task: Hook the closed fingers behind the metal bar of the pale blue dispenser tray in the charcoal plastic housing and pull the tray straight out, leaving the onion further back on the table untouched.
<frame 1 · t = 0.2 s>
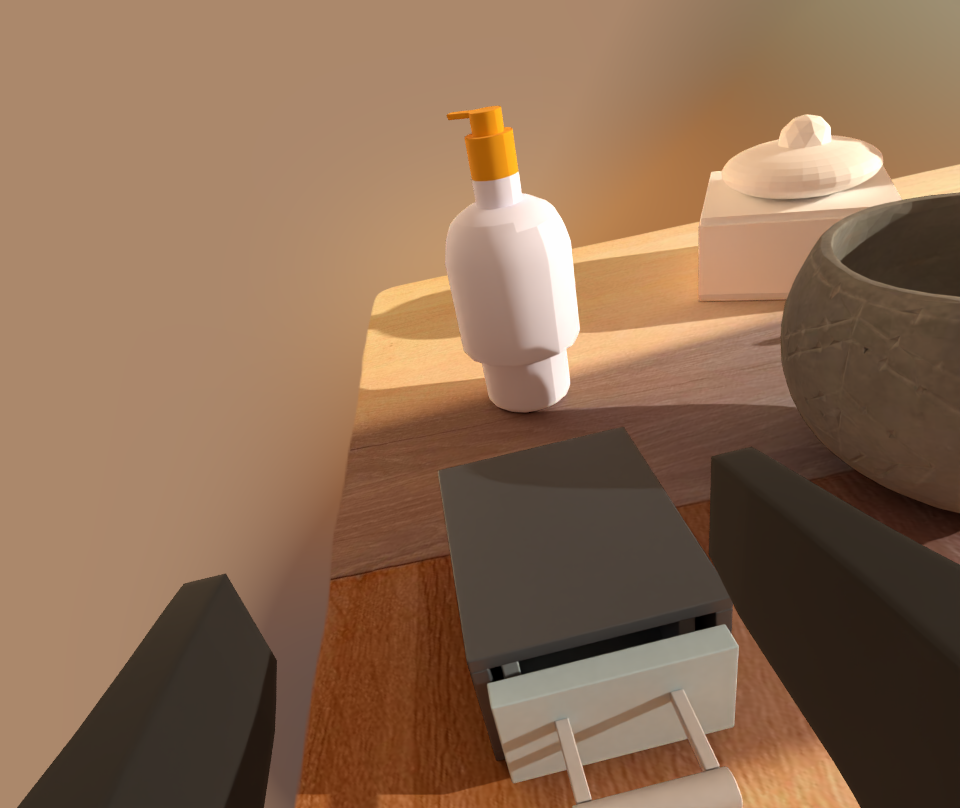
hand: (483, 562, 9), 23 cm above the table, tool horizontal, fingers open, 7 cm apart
soap bottle: (529, 394, 58), on the table
bowl: (944, 459, 42), on the table
dispenser: (574, 620, 36), on the table
dispenser tray: (593, 643, 30), point 4 cm above the table, slide at 0.5 cm
butter dish: (786, 267, 71), on the table
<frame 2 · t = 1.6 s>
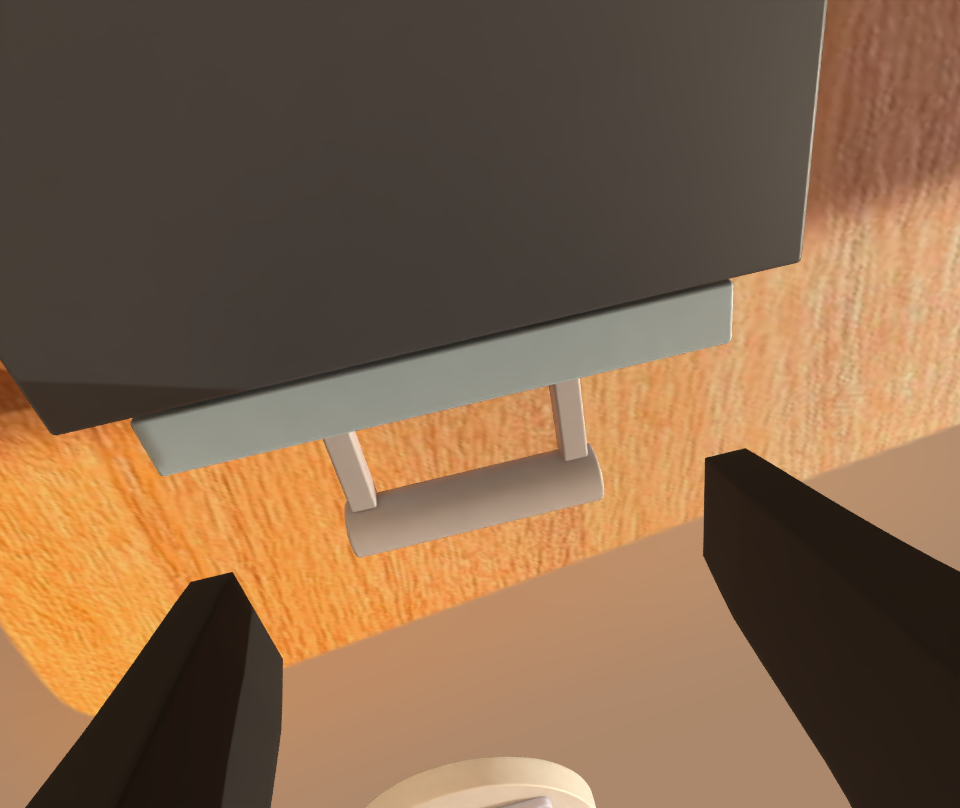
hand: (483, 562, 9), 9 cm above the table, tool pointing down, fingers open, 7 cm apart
dispenser tray: (389, 151, 11), point 4 cm above the table, slide at 0.5 cm
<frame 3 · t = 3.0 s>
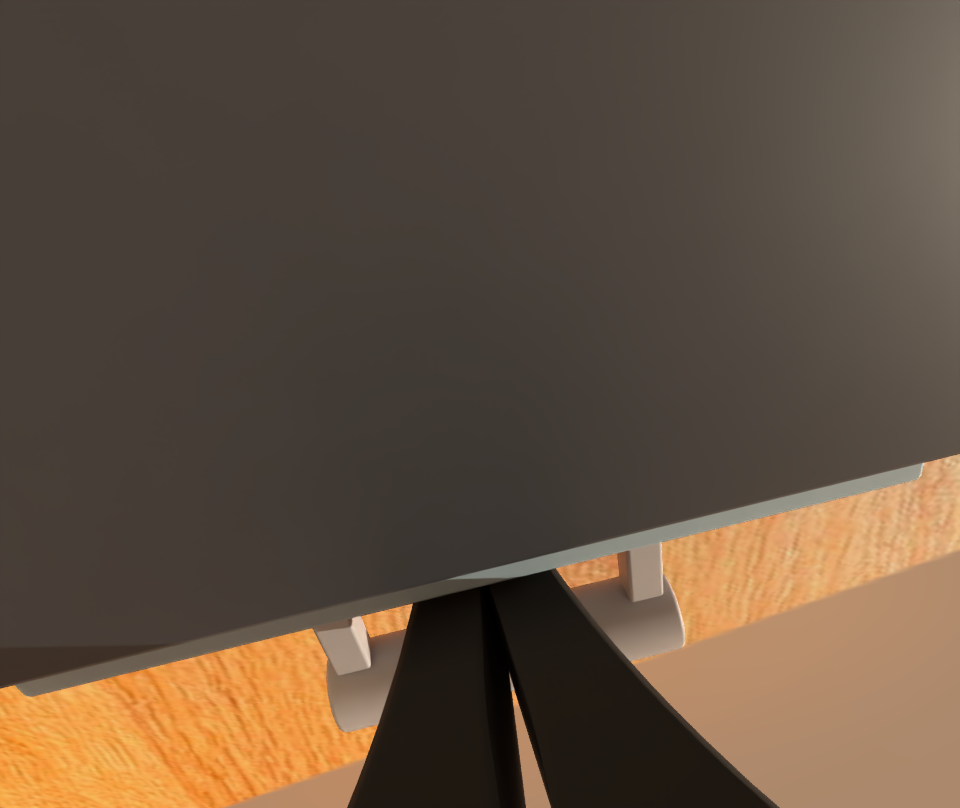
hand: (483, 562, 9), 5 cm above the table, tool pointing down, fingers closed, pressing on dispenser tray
dispenser tray: (388, 181, 7), point 4 cm above the table, slide at 0.0 cm, touching dispenser, gripper
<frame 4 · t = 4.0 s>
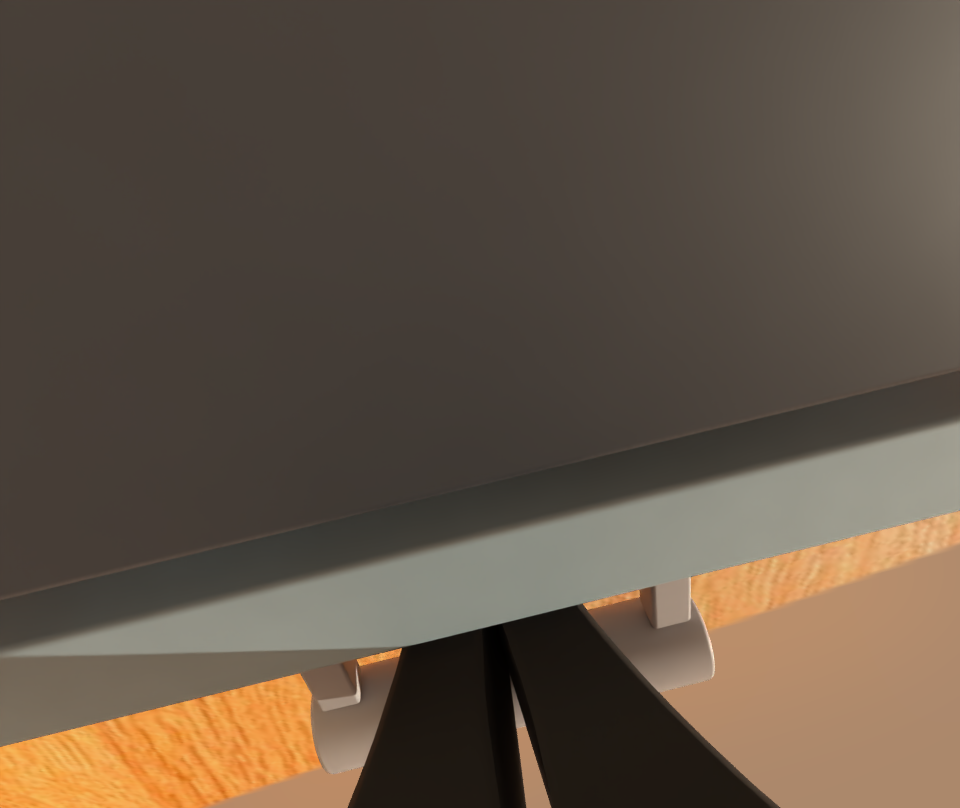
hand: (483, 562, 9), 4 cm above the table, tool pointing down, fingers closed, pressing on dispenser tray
dispenser tray: (376, 140, 6), point 4 cm above the table, slide at 1.2 cm, touching gripper
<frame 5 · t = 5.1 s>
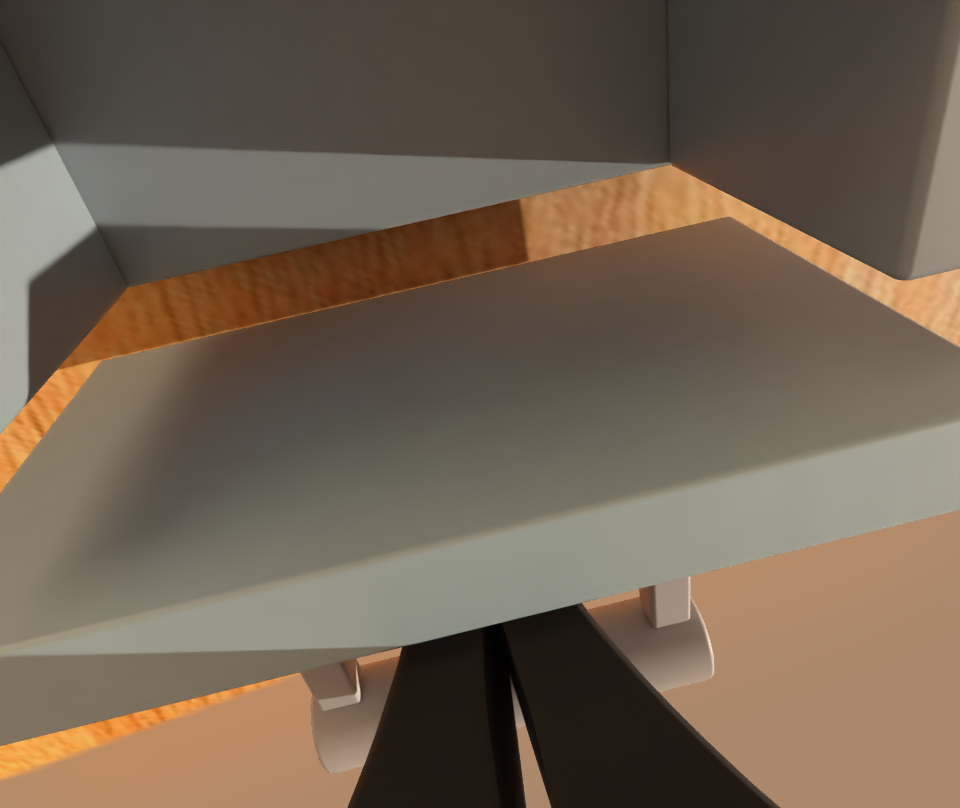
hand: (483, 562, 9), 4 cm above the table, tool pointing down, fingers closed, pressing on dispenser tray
dispenser tray: (376, 141, 6), point 4 cm above the table, slide at 5.4 cm, touching gripper
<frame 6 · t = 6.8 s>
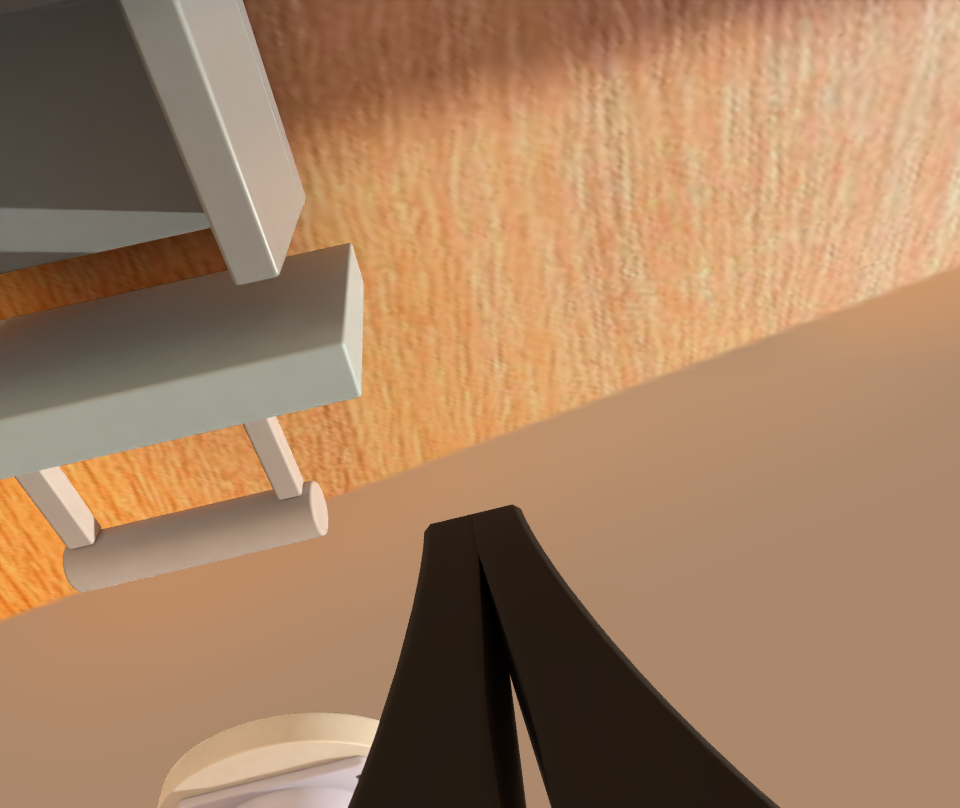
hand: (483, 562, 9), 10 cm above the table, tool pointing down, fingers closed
dispenser tray: (38, 210, 12), point 4 cm above the table, slide at 5.4 cm
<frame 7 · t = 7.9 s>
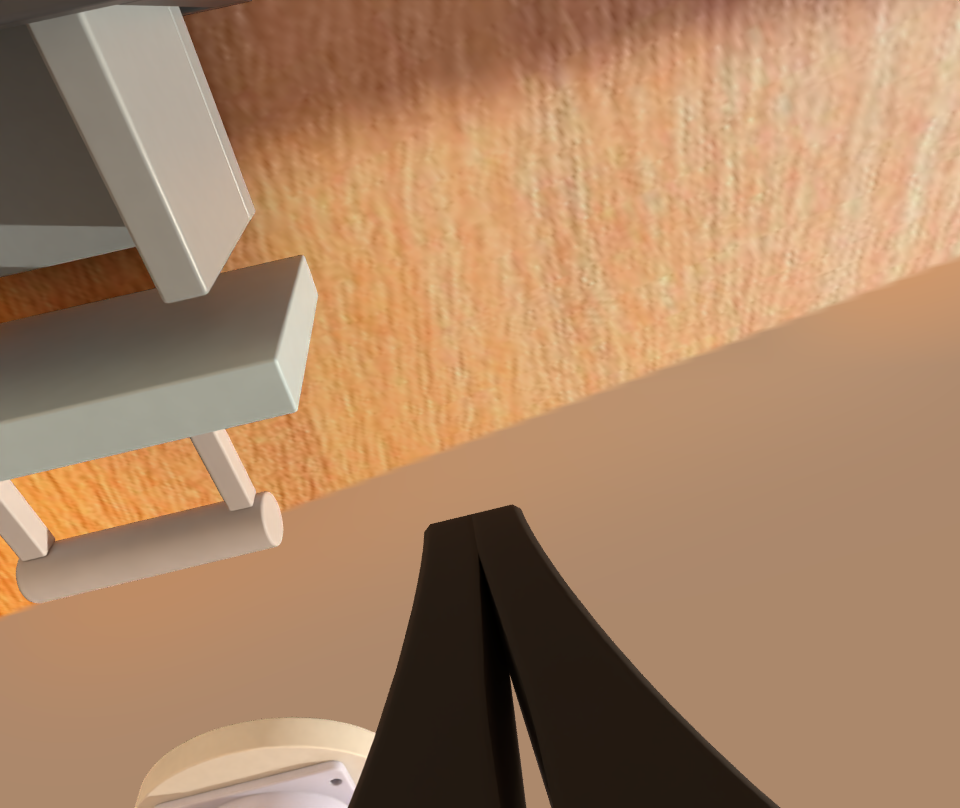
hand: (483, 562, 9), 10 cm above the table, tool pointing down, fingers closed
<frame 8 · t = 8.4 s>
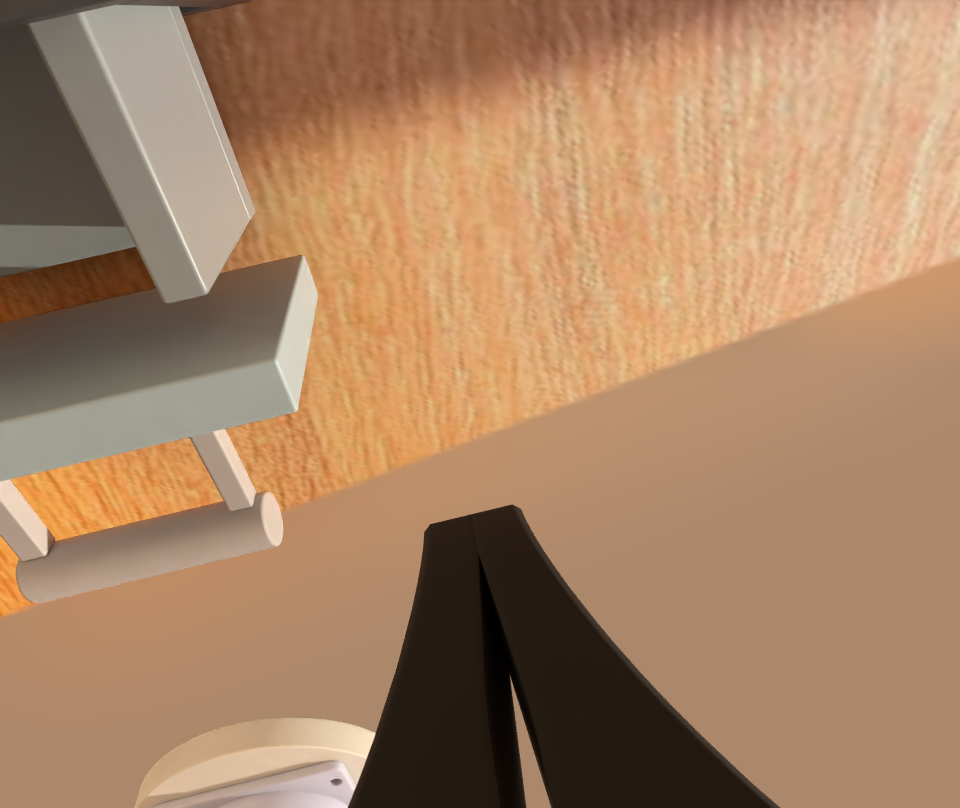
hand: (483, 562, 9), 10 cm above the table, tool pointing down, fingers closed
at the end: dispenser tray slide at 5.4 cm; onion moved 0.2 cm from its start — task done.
